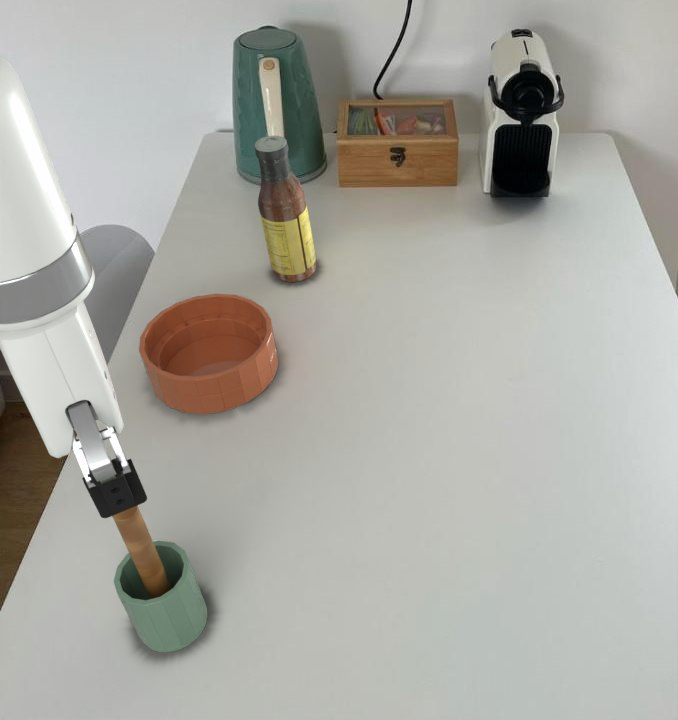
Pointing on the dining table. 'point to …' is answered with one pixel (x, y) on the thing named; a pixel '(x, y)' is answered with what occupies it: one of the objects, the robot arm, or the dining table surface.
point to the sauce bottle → (284, 213)
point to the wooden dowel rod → (143, 551)
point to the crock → (163, 601)
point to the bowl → (209, 353)
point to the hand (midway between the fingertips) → (108, 460)
